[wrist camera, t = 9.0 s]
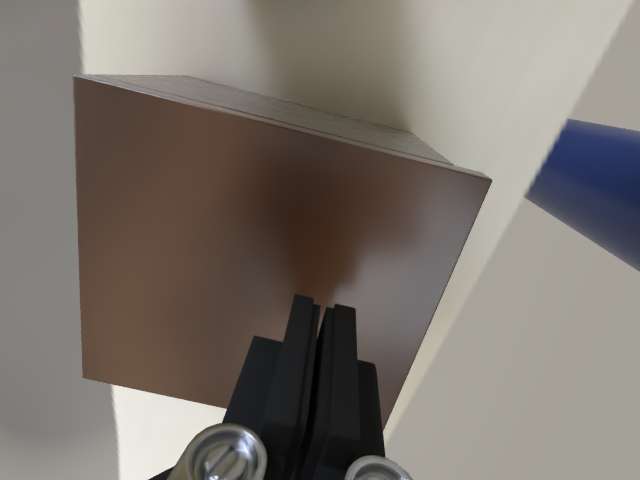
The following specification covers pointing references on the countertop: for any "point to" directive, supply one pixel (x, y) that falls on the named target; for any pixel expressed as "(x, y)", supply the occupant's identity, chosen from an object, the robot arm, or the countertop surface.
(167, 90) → the walnut box
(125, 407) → the countertop surface
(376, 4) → the countertop surface
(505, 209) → the countertop surface
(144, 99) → the hatch
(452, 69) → the countertop surface
